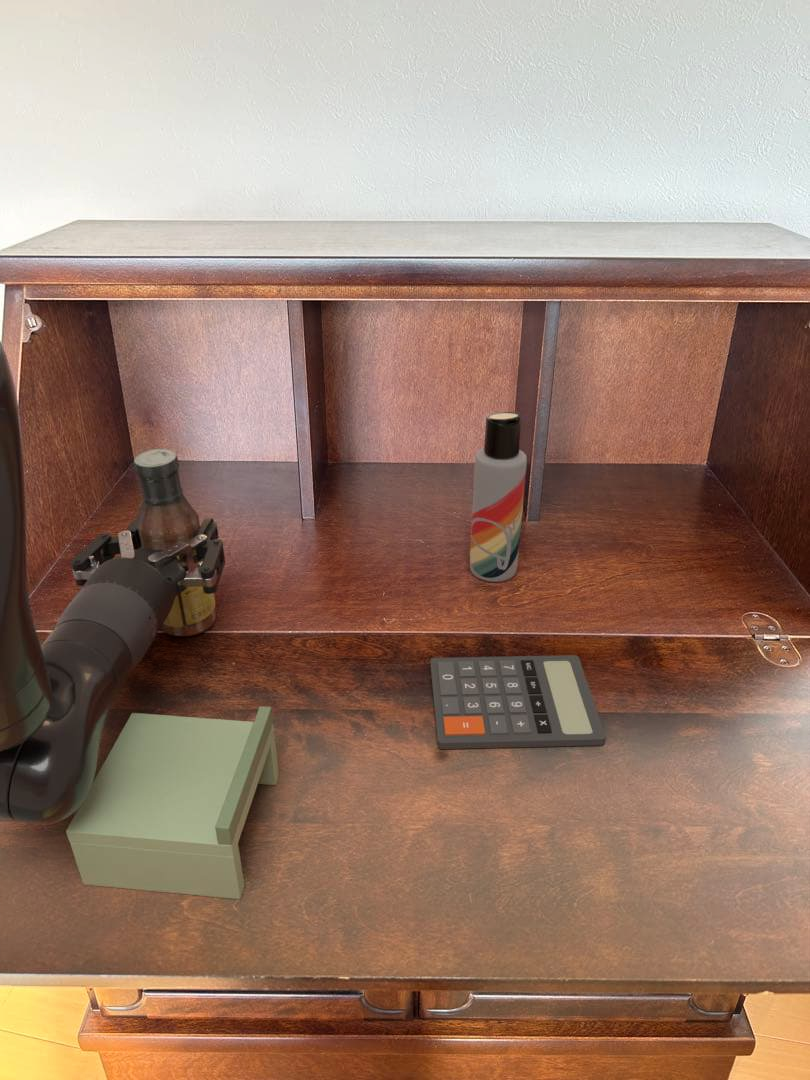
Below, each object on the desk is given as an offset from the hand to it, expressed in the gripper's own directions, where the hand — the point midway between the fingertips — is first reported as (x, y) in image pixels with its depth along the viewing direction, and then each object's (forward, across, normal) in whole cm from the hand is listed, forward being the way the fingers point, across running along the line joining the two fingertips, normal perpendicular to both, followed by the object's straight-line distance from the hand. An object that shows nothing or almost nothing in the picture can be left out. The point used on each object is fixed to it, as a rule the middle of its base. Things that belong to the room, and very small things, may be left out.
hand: (178, 524), depth 84 cm
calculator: (-11, -35, +11) cm, 39 cm away
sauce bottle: (-2, 0, +11) cm, 11 cm away
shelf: (-28, -9, +11) cm, 32 cm away
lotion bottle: (+12, -33, +11) cm, 37 cm away
